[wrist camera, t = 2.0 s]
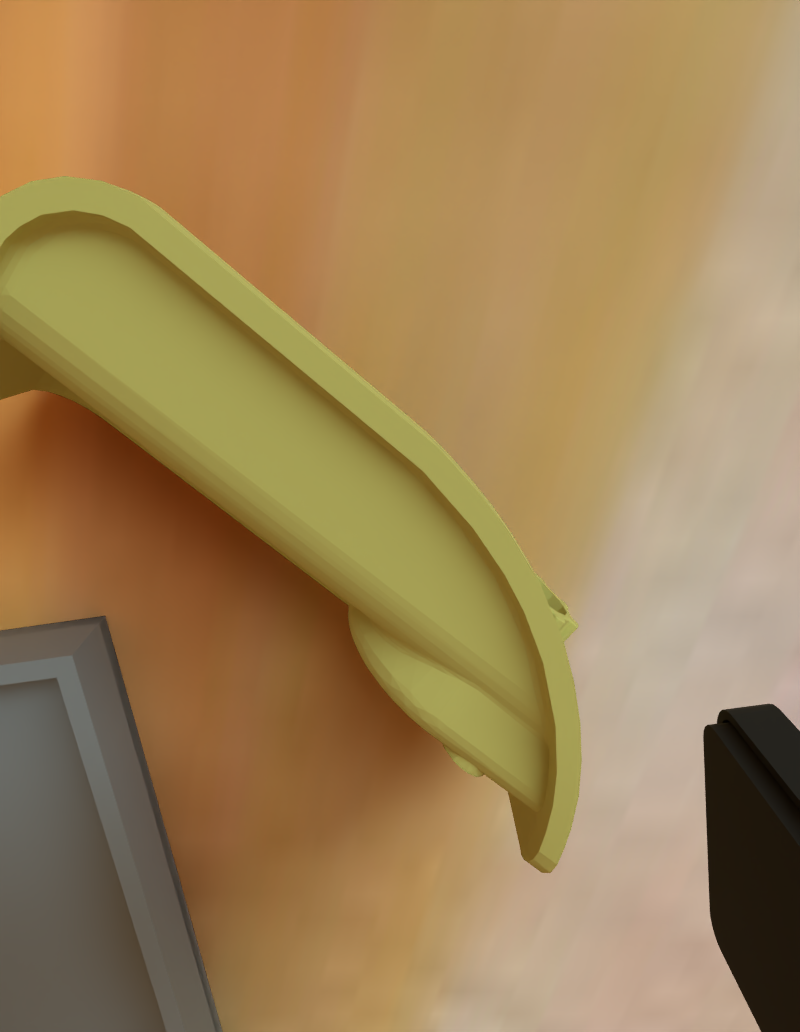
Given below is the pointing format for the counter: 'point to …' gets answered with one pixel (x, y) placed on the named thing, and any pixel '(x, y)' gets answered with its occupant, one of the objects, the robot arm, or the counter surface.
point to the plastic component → (302, 475)
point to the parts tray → (85, 851)
